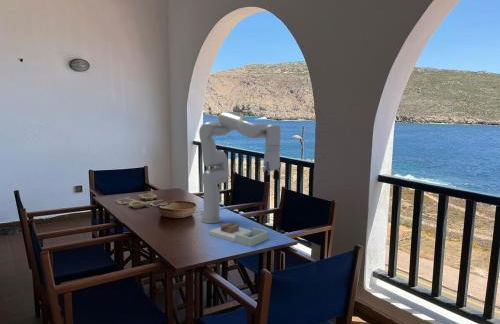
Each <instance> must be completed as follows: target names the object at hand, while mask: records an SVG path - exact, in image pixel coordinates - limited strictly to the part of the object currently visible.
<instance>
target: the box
mask: <svg viewBox="0 0 500 324" xmlns="http://www.w3.org/2000/svg"><path fill="white" fill-rule="evenodd" d="M251 230H252V235H251V236H252V237H250V236H248V237H247V236H243V235H240V234H235V242H234V243H238V244H242V245H245V246H249V247H253V246H256V245H257V244H260V243H262V242H264V241H267V240H269V235H270V234H269V233H270V232H269V230H265V229H261V228H257V227H251Z"/></svg>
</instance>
